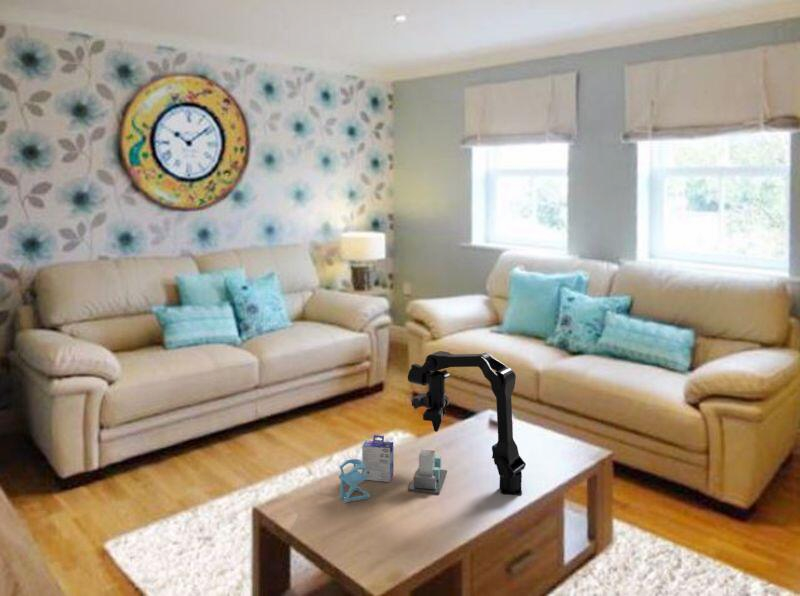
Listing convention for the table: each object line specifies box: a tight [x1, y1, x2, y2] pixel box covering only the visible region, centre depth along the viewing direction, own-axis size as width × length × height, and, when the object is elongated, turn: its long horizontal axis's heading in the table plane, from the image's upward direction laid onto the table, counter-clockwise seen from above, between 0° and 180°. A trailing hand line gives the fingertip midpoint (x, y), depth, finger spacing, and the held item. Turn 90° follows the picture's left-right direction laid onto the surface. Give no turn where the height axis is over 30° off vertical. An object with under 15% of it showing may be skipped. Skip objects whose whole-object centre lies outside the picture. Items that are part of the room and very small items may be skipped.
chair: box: [338, 458, 371, 503], centre depth 206 cm, size 8×8×12 cm
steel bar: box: [418, 449, 436, 476], centre depth 213 cm, size 4×4×10 cm
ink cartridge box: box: [361, 434, 395, 483], centre depth 218 cm, size 10×6×14 cm, turn 79°
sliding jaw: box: [417, 455, 442, 480], centre depth 221 cm, size 11×7×4 cm, turn 167°
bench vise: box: [408, 469, 448, 495], centre depth 216 cm, size 16×10×5 cm, turn 167°
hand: (436, 431), depth 226 cm, fingers closed
